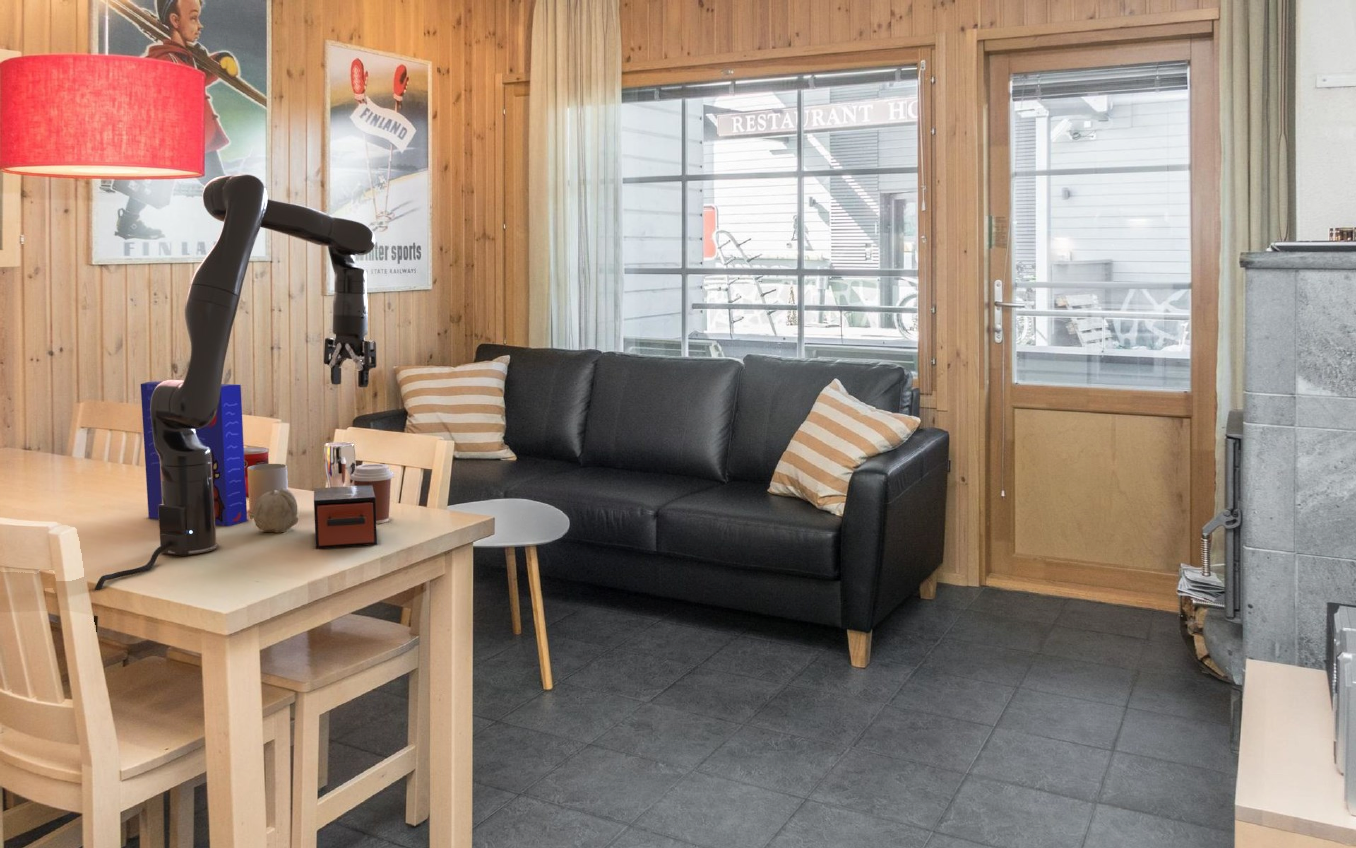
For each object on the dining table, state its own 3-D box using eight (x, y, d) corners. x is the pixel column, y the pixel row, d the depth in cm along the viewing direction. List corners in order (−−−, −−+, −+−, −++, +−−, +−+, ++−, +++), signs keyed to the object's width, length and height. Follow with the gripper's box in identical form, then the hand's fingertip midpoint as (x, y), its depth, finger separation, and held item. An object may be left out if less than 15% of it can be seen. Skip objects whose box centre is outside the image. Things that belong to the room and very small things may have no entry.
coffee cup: (378, 514, 253) (376, 461, 252) (404, 520, 247) (402, 466, 246) (343, 521, 246) (341, 467, 245) (368, 527, 240) (366, 471, 239)
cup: (241, 511, 256) (239, 468, 255) (270, 505, 263) (268, 462, 262) (268, 515, 252) (266, 471, 251) (296, 508, 259) (294, 465, 258)
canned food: (234, 492, 279) (231, 448, 277) (268, 489, 282) (266, 446, 281) (236, 497, 272) (233, 452, 270) (271, 495, 275) (269, 450, 274)
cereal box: (247, 520, 247) (240, 383, 243) (227, 526, 241) (220, 386, 238) (169, 512, 255) (161, 380, 251) (148, 518, 249) (140, 382, 245)
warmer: (376, 544, 225) (375, 497, 224) (315, 548, 222) (313, 500, 220) (373, 529, 238) (372, 485, 237) (315, 533, 235) (314, 488, 233)
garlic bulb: (294, 538, 240) (309, 493, 241) (286, 541, 232) (301, 494, 233) (250, 526, 239) (265, 480, 240) (241, 528, 231) (256, 481, 232)
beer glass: (348, 512, 255) (345, 446, 253) (320, 511, 257) (317, 445, 255) (362, 506, 262) (360, 442, 260) (335, 505, 263) (332, 441, 261)
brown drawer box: (375, 547, 219) (373, 508, 218) (318, 551, 216) (317, 511, 215) (371, 528, 235) (369, 491, 234) (318, 532, 232) (317, 494, 231)
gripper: (315, 312, 254) (314, 384, 255) (360, 314, 246) (359, 388, 248) (341, 312, 260) (340, 383, 262) (385, 315, 253) (384, 387, 254)
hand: (349, 385), depth 255 cm, fingers open, 8 cm apart
